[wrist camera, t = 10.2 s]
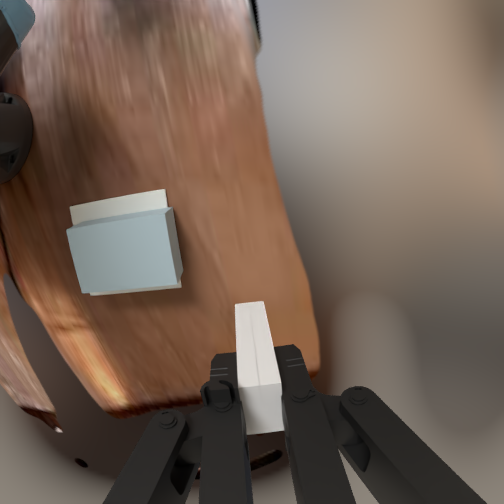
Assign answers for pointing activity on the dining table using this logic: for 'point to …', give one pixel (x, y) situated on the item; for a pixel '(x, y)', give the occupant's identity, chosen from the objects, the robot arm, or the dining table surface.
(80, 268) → the slab
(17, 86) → the dining table surface
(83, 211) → the mat
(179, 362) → the dining table surface
